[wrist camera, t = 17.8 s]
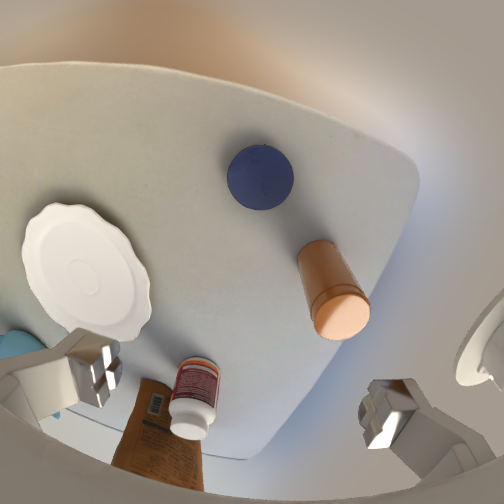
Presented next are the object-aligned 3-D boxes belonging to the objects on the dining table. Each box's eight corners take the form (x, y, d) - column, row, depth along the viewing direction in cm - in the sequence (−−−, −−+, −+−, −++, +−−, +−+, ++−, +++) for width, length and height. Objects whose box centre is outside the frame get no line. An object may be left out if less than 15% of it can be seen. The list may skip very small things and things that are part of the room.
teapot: (46, 326, 37) (13, 370, 27) (76, 389, 45) (56, 430, 34) (-4, 310, 37) (-35, 344, 27) (26, 370, 44) (5, 404, 34)
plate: (10, 238, 30) (3, 243, 29) (100, 168, 27) (92, 171, 25) (81, 347, 38) (77, 353, 37) (184, 318, 35) (181, 327, 33)
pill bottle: (172, 357, 38) (154, 419, 28) (212, 353, 37) (201, 419, 27) (189, 384, 41) (177, 442, 31) (226, 380, 40) (220, 442, 30)
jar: (349, 252, 31) (383, 306, 21) (325, 286, 33) (347, 348, 23) (312, 232, 30) (336, 283, 20) (288, 269, 32) (300, 330, 22)
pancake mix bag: (154, 365, 39) (103, 534, 14) (226, 423, 46) (215, 559, 20) (127, 375, 41) (75, 523, 15) (198, 430, 47) (181, 555, 22)
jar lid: (232, 140, 26) (231, 141, 24) (296, 149, 26) (298, 150, 25) (225, 201, 28) (223, 206, 27) (286, 209, 29) (287, 214, 27)
